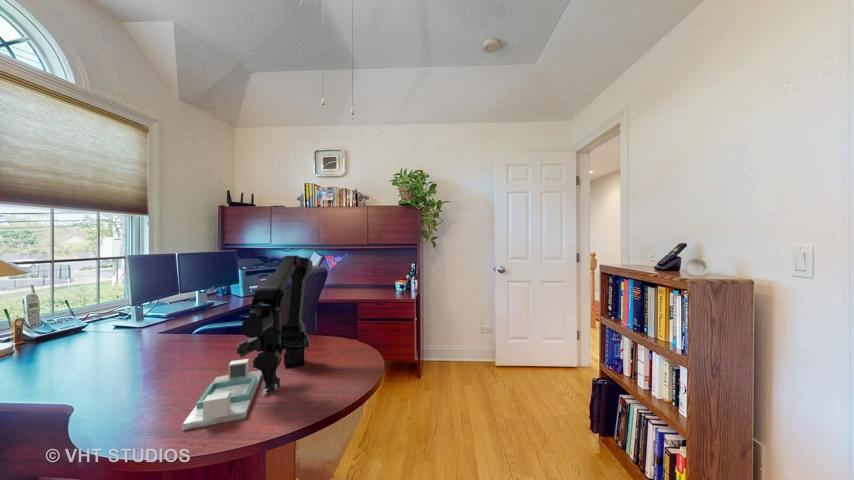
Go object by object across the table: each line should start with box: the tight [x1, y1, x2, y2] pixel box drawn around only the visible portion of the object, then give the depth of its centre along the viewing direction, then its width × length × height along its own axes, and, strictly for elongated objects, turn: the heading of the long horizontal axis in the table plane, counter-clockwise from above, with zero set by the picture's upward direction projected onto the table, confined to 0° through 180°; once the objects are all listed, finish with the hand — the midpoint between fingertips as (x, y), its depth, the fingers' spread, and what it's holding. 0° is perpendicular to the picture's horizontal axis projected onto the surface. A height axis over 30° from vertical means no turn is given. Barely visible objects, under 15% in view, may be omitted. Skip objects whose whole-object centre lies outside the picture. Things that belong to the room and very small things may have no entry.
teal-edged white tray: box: [182, 370, 263, 431], centre depth 84 cm, size 13×26×3 cm, turn 21°
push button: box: [262, 356, 282, 396], centre depth 88 cm, size 7×5×10 cm
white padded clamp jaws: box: [203, 358, 250, 420], centre depth 84 cm, size 5×26×4 cm, turn 21°
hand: (270, 378), depth 88 cm, fingers open, 9 cm apart
